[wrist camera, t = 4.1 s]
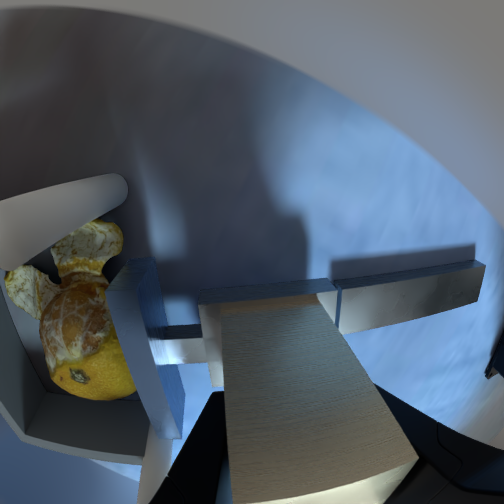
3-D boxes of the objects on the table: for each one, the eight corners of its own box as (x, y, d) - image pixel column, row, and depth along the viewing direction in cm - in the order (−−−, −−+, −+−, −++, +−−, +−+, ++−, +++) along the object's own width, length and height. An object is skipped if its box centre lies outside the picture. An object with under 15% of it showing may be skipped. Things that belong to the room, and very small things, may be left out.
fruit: (100, 187, 11) (57, 202, 7) (204, 339, 13) (202, 394, 10) (2, 278, 11) (-37, 308, 8) (92, 390, 14) (74, 435, 10)
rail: (475, 259, 14) (485, 265, 13) (467, 294, 15) (477, 301, 14) (334, 280, 13) (342, 289, 12) (330, 324, 14) (337, 335, 13)
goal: (126, 170, 10) (18, 195, 4) (178, 414, 15) (172, 517, 8) (-29, 207, 10) (-120, 247, 3) (43, 402, 14) (9, 477, 7)
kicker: (328, 241, 11) (483, 383, 3) (318, 378, 13) (379, 521, 5) (130, 257, 10) (15, 433, 3) (165, 393, 13) (148, 548, 5)
